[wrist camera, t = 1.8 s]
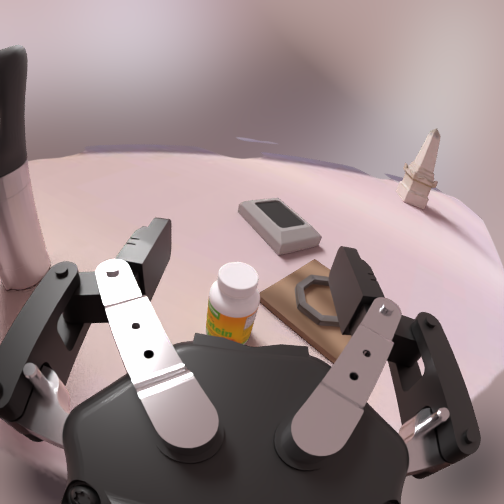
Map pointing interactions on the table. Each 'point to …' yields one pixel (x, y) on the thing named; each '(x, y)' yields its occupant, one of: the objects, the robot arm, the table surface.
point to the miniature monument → (420, 173)
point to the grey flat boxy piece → (279, 225)
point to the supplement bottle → (233, 302)
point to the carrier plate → (308, 308)
